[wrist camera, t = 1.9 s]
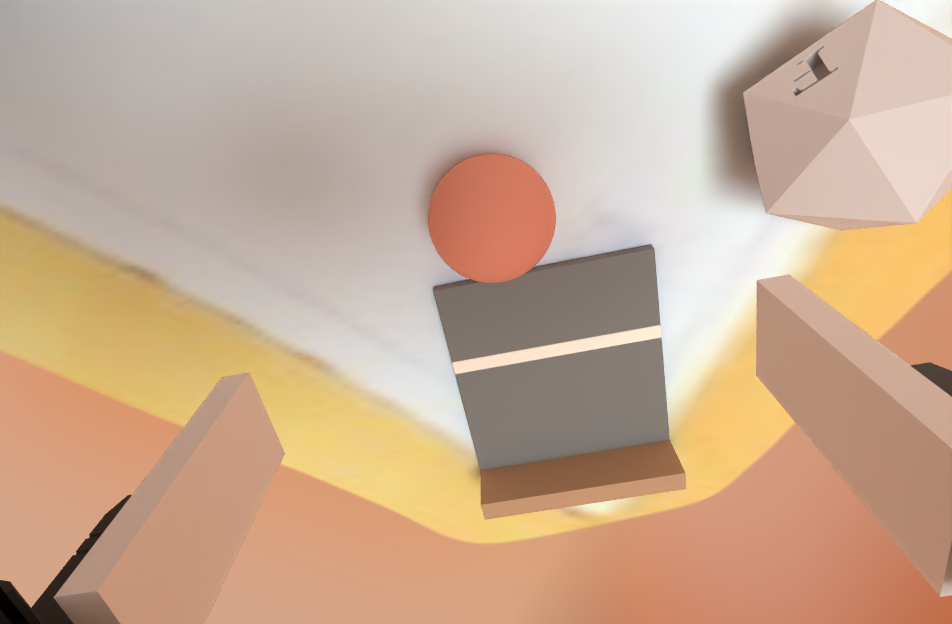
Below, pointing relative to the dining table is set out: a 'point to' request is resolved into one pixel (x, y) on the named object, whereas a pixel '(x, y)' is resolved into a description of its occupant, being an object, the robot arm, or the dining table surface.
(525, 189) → the ball
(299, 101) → the dining table surface
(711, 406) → the dining table surface
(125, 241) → the dining table surface
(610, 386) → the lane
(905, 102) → the die
